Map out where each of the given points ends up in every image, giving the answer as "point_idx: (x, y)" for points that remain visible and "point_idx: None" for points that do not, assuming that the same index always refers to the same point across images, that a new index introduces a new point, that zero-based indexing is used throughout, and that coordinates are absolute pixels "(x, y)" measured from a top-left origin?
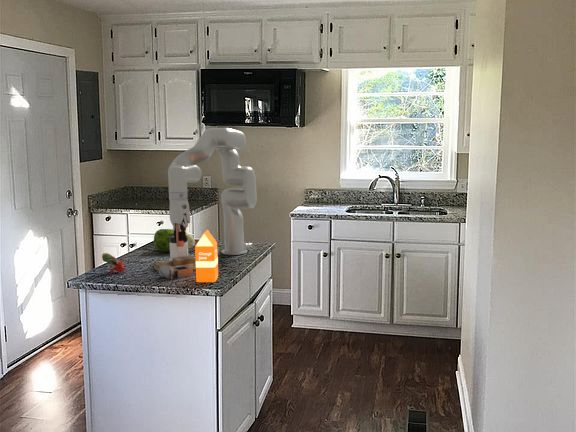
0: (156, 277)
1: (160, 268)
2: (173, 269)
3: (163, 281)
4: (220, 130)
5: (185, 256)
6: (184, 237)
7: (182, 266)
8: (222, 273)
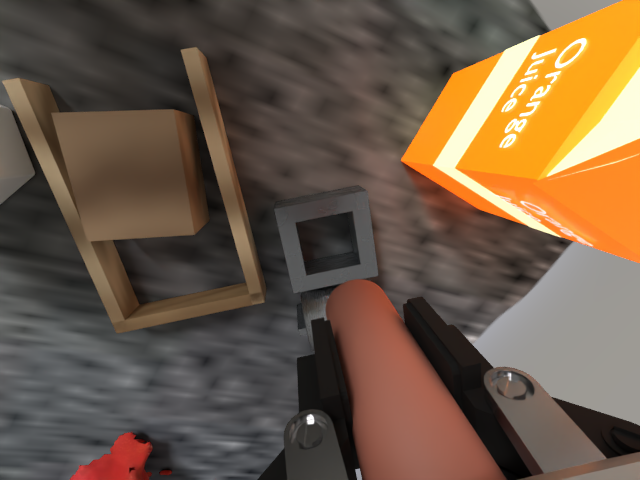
0: (305, 336)
1: None
2: None
3: None
4: None
5: (72, 149)
6: (456, 331)
7: (289, 227)
8: (402, 18)
